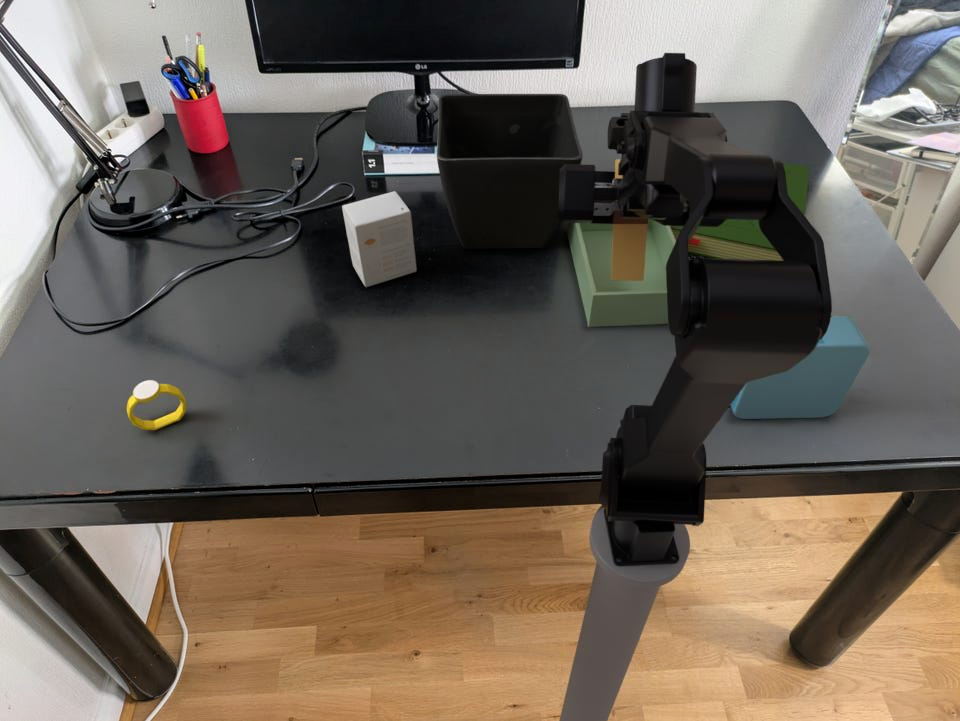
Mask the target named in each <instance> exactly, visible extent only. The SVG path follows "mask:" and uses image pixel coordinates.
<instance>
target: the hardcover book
mask: <svg viewBox="0 0 960 721" xmlns="http://www.w3.org/2000/svg"><path fill="white" fill-rule="evenodd" d="M782 163H783V165H784V169H785V175H786V183H787V191H788V196H789V197H790V198H791V200H792V201H793V202H794V203H795V205H796V206H797V207H798V208H799V210H800V211H801V212H802V213H803V215H804V216H805V217H806V206H807V195H808V183H809V174H810V167H809V166H803V165H797V164H792V163H787V162H786V163H785V162H782ZM689 217H690V216H689ZM683 227H684V226H670V228H671V230H672V232H673V235H674V237H675V240H677V238H678V236H679V233H680V231H681V230H682V228H683ZM688 255H693V256H699V257H702V258H722V259H751V260H779V261H784V260H783V259H782V258H781V256H780V255H779V254H778V252H777V251H776V250H775V248H774V247H773V246H772V245H771V243H770V242H769V241H768V239H767V238H766V237H765V235H764V234H763V233H762V232H761V229H760V227H759V220H740V219H727V220H726V221H725V222H724V223H723V224H721V225H720V226H718V227H702V226H698V228H697V230H696V232H695V233H694V235H693V236H692V238H691V239H690V241H689V243H688Z"/></svg>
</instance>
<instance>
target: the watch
mask: <svg viewBox="0 0 960 721" xmlns="http://www.w3.org/2000/svg"><path fill="white" fill-rule="evenodd" d="M161 394H168V395H171V396H174V397H176V398H178V400H179V401H180V404H179V406H178V407H177V408H176V410H175V411H174V412H171V413H169V414H166V415H164V416H161V417H159V418H157V419H154V420H148V419H147V420H146V419H142V418H140V417H138V416H136V415H135V414H134V408H135V407H136V406H137V405H138V404H139V403H150V402H153V401H154V400H156V399H157V398H158V397H159V396H160V395H161ZM126 412H127V416H128V417H127V418H128V419H129V421H130V423H131V424H132V425H133V426H134V427H137V428H139V429H141V430H145V431H157V430H159V429H161V428H164V427H166V426H169V425H171V424H174V423H176V422H180V420H181V419H182V418H183V417H184V415H185V414H186V412H187V400H186V398H185V394H184V393H183V392H182V390H180V388H178V386H175V385H172V384H169V383H159V382H157V381H156V380H153V379H148V380H147V379H146V380H144V381H141V382H140V383H138V384H137V385H136V386H135V387H134V388H133V391H132V395H131V396H130V397H129V398H128V400H127V404H126Z"/></svg>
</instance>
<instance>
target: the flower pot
mask: <svg viewBox="0 0 960 721" xmlns="http://www.w3.org/2000/svg"><path fill="white" fill-rule="evenodd" d="M437 122H438V124H437V143H436V144H437V145H436V161H437V167H438V173H439V178H440V182H441V187H442V188H441V189H442V192H443V195H444V199H445V203H446V207H447V211H448V214H449V216H450V220H451V223H452V225H453V229H454V231H455V233H456V236H457V238H458V241H459V242H460V245H461V246H462V247H463V248H464V249H468V250H471V249H472V250H481V249H483V250H484V249H486V250H487V249H488V250H489V249H492V250H493V249H494V250H495V249H496V250H497V249H500V250H501V249H543V248H545V247H546V246H548V244H549V242H550V240H551V239H552V237H553V235H554V233H555V231H556V229H557V227H558V226H559V224H560V223H561V221H560V220H559V219H558V218H557V201H558V175H559V170H560V169H561V168H562V167H563V166H564V165H565V164H579V165H582V161H583V150H582V146H581V144H580V140H579V137H578V133H577V129H576V126H575V121H574V117H573V113H572V110H571V104H570V100H569V97H568V96H567V95H566V94H564V93H446V94H445V93H444V94H441V95H440V96H439V97H438V121H437Z"/></svg>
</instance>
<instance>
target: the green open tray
mask: <svg viewBox="0 0 960 721" xmlns="http://www.w3.org/2000/svg"><path fill="white" fill-rule="evenodd" d="M566 235H567V239H568V243H569V248H570V252H571V257H572V261H573V266H574V269H575V274H576V278H577V282H578V287H579V293H580V297H581V301H582V305H583V309H584V314H585V318H586V323H587V327H588V328H597V327H601V328H602V327H622V326H623V327H624V326H627V327H628V326H651V325H652V326H655V325H669V323H668V306H667V283H666V264H667V261H668V258H669V256H670V254H671V252H672V249H673V247H674V245H675V243H676V240H675V237H674V235H673V232H672V230H671V228H670V226H663V225H661V224H660V223H658V222H656V221H654V220H652V219H648V226H647V240H646V254H645V268H644V280H643V281H622V280H611V269H612V240H613V224H593V223H590V222H589V223H567V227H566Z"/></svg>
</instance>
